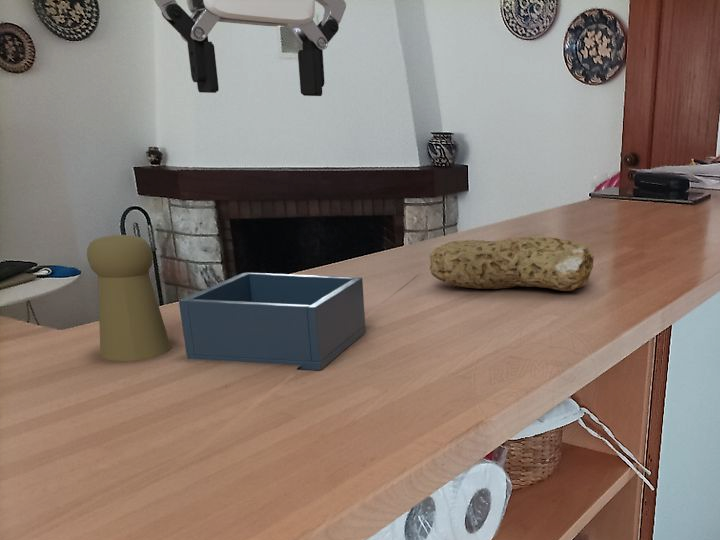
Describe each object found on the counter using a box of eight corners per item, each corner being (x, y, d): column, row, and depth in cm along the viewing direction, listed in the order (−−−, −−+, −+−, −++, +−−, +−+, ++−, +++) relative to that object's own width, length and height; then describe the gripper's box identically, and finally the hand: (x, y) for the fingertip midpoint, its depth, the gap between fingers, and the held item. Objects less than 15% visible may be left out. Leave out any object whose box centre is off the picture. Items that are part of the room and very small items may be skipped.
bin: (187, 362, 71) (178, 300, 69) (250, 326, 83) (244, 272, 81) (320, 370, 70) (315, 307, 68) (365, 332, 81) (362, 277, 79)
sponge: (590, 291, 107) (456, 251, 110) (602, 238, 102) (462, 198, 106) (562, 332, 96) (415, 286, 100) (574, 275, 92) (420, 229, 95)
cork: (115, 345, 75) (95, 230, 71) (180, 345, 76) (164, 231, 72) (89, 365, 70) (65, 241, 66) (160, 364, 70) (140, 242, 66)
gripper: (317, -100, 73) (329, 96, 79) (116, -141, 62) (148, 90, 68) (357, -115, 68) (367, 97, 74) (145, -161, 57) (177, 91, 63)
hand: (262, 94), depth 71 cm, fingers open, 9 cm apart
